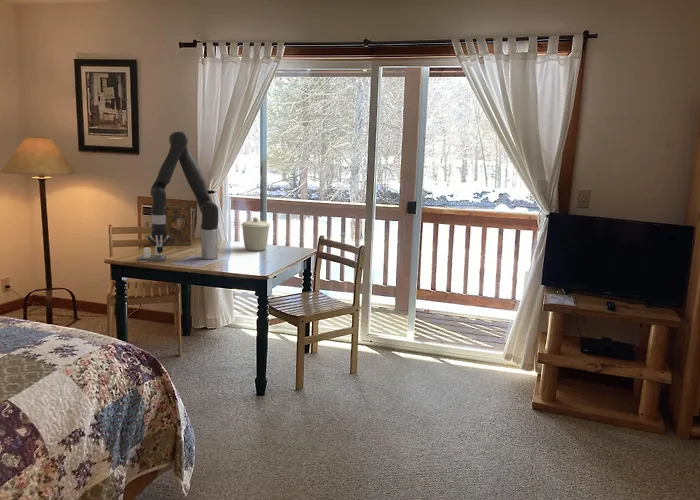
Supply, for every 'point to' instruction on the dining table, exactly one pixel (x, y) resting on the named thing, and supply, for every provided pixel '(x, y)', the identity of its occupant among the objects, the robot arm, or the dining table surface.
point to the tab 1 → (146, 252)
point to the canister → (255, 234)
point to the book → (179, 225)
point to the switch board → (153, 258)
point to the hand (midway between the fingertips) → (159, 253)
